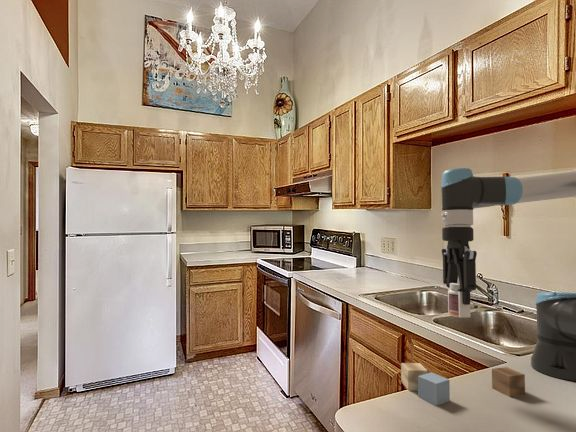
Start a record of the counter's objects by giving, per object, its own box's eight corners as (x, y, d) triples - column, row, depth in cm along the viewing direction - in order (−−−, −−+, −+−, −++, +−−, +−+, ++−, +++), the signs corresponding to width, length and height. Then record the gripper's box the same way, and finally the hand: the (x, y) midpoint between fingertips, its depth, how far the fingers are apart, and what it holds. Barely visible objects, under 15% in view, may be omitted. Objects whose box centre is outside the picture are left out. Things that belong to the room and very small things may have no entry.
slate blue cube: (431, 392, 86) (431, 372, 87) (449, 400, 82) (449, 379, 82) (418, 397, 84) (418, 376, 84) (436, 406, 79) (436, 383, 80)
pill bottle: (470, 318, 88) (470, 285, 89) (451, 317, 89) (450, 284, 90) (465, 314, 93) (465, 283, 93) (446, 313, 94) (446, 282, 94)
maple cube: (419, 382, 92) (419, 363, 93) (427, 390, 87) (427, 370, 88) (401, 382, 92) (401, 363, 92) (408, 390, 87) (408, 370, 87)
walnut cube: (507, 386, 90) (506, 367, 91) (525, 394, 86) (524, 374, 86) (492, 388, 89) (491, 368, 89) (509, 397, 84) (509, 376, 85)
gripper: (429, 227, 101) (430, 307, 100) (461, 225, 83) (463, 322, 82) (454, 227, 101) (455, 307, 100) (491, 225, 84) (493, 323, 82)
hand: (459, 314), depth 91 cm, fingers closed on pill bottle, 5 cm apart
